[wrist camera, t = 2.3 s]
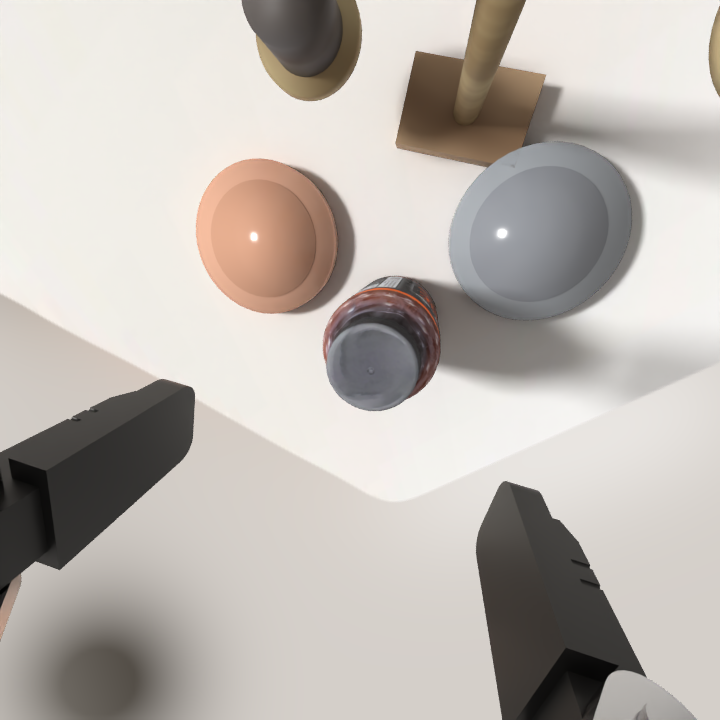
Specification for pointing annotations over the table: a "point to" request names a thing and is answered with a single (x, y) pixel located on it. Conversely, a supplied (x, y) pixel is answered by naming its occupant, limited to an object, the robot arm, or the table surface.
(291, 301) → the terracotta dish
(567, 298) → the slate dish
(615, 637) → the robot arm
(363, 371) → the supplement bottle
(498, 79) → the balance
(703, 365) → the table surface
